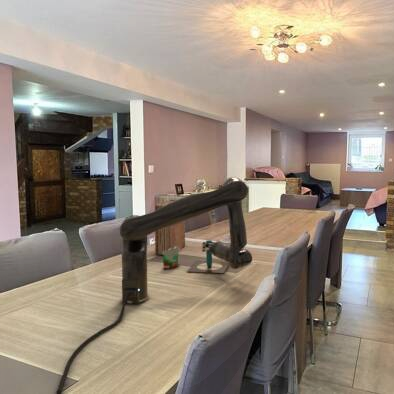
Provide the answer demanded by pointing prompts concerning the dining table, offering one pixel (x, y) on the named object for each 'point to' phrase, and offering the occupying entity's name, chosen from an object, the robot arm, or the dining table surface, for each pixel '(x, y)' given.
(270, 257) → the dining table surface
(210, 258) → the marker
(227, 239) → the paper bowls
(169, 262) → the potted plant
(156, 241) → the brown wooden block
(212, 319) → the dining table surface
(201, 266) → the square plate with hole
